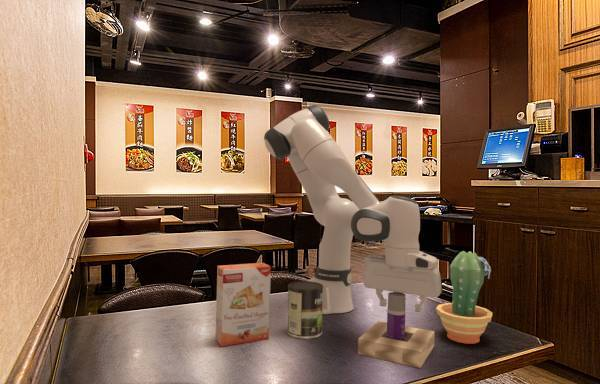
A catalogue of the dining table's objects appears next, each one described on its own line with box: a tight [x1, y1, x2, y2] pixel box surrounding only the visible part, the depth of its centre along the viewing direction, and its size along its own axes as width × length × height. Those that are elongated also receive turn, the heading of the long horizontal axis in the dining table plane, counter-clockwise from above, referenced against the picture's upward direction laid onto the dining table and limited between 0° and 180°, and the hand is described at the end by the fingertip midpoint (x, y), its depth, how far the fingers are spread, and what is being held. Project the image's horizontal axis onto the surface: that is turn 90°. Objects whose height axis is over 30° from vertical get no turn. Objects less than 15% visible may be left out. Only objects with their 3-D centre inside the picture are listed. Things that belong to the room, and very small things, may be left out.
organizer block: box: [357, 320, 436, 369], centre depth 110 cm, size 16×16×4 cm
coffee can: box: [287, 280, 323, 340], centre depth 122 cm, size 10×10×14 cm
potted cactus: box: [435, 250, 493, 344], centre depth 120 cm, size 15×15×25 cm
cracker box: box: [215, 262, 272, 347], centre depth 115 cm, size 14×6×21 cm, turn 117°
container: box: [386, 291, 406, 341], centre depth 110 cm, size 5×5×15 cm
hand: (400, 308), depth 111 cm, fingers open, 8 cm apart
